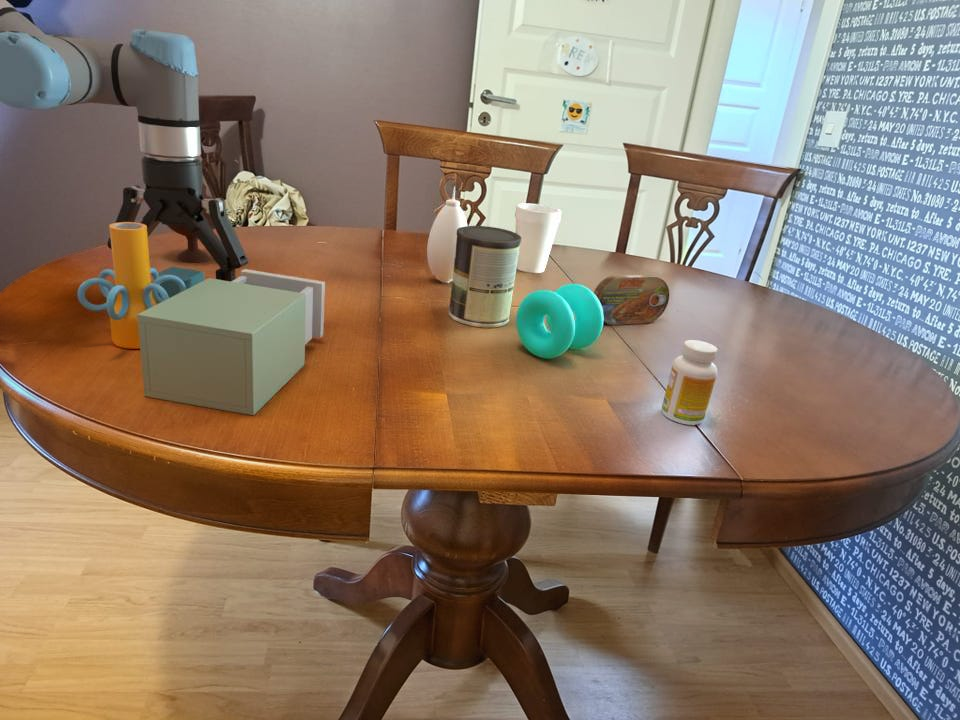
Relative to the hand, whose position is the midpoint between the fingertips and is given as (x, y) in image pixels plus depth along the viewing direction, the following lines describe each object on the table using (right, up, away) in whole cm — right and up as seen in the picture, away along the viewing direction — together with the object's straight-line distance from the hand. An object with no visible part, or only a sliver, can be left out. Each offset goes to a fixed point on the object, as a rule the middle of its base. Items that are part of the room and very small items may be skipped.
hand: (181, 304), depth 99 cm
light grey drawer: (+17, -5, -9) cm, 20 cm away
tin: (+70, -2, +18) cm, 73 cm away
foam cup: (+55, +11, +44) cm, 71 cm away
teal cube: (0, 0, 0) cm, 0 cm away
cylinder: (0, -6, -13) cm, 14 cm away
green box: (+15, -11, -20) cm, 27 cm away
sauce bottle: (+38, +7, +28) cm, 47 cm away
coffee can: (+44, -1, +11) cm, 46 cm away
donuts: (+56, -7, +1) cm, 56 cm away
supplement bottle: (+70, -16, -14) cm, 73 cm away
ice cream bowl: (-8, +10, +22) cm, 26 cm away
